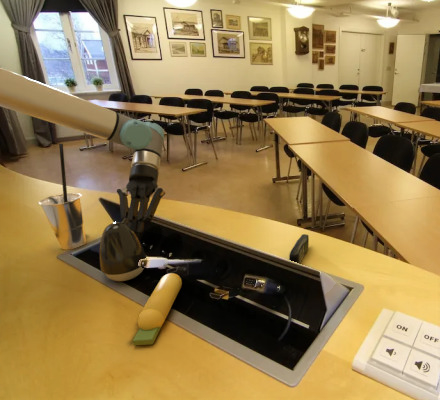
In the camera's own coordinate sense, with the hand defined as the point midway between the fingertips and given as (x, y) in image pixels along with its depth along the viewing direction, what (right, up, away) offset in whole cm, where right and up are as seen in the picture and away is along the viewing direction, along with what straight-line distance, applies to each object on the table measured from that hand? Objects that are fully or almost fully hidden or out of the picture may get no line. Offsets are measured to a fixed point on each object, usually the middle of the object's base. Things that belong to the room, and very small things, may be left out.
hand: (132, 244), depth 88 cm
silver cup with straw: (-25, -1, +12) cm, 28 cm away
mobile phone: (+46, -4, +7) cm, 46 cm away
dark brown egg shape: (+1, -8, -3) cm, 8 cm away
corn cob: (+16, -13, -16) cm, 26 cm away
